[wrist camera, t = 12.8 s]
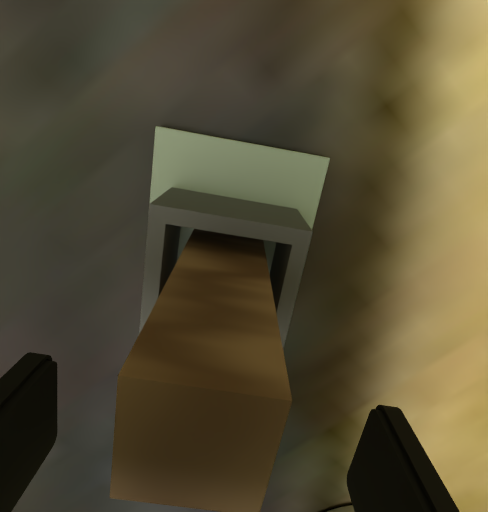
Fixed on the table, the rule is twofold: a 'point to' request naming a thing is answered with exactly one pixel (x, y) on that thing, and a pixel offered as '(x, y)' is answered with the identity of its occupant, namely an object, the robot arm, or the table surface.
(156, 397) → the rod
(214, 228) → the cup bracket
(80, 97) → the table surface
